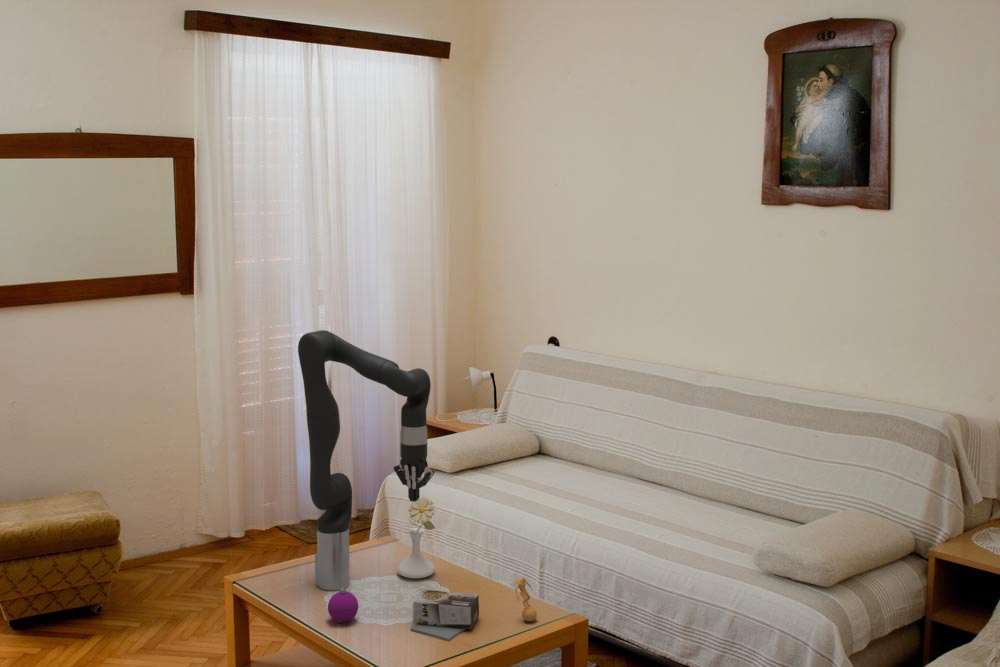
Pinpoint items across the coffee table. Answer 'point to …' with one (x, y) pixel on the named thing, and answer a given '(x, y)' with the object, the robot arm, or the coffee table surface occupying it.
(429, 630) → the slate mat
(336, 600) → the christmas ornament
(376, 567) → the coffee table surface
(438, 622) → the coffee box
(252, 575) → the coffee table surface
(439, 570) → the coffee table surface
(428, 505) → the flower in vase
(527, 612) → the figurine
